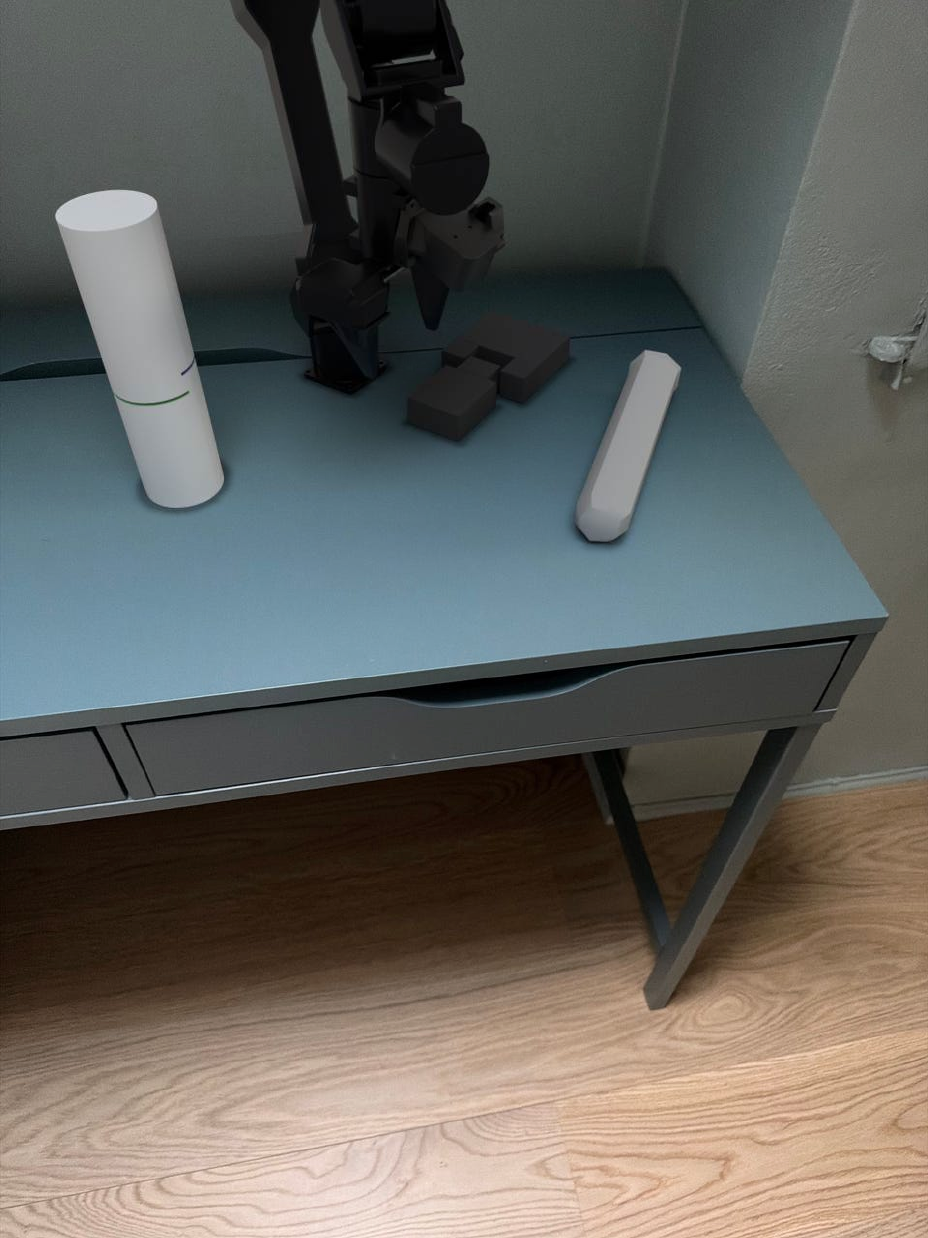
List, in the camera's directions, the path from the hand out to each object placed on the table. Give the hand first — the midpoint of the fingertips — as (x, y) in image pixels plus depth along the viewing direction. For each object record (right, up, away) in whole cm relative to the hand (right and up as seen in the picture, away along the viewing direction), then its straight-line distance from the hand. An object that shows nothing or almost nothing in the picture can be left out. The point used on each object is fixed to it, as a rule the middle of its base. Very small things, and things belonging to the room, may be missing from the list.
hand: (402, 352), depth 78 cm
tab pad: (+5, -2, +13) cm, 14 cm away
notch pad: (+10, +4, +19) cm, 21 cm away
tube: (+18, -6, +6) cm, 20 cm away
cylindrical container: (-21, -11, +5) cm, 24 cm away
